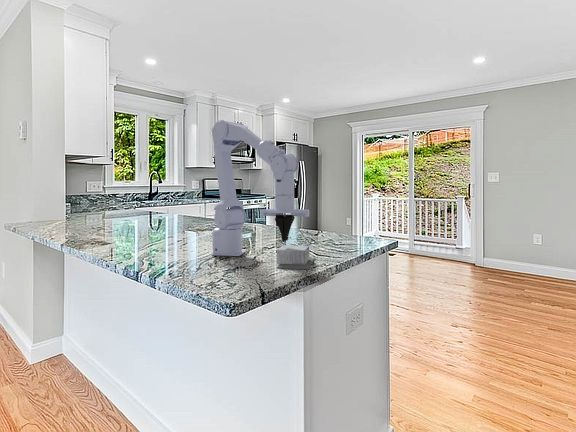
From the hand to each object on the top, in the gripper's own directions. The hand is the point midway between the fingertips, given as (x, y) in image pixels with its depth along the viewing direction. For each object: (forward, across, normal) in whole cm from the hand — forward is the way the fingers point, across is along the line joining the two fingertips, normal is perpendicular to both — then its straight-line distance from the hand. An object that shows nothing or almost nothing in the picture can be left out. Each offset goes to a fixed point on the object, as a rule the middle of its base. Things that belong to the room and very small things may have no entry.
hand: (285, 240), depth 110 cm
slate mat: (+7, +4, 0) cm, 8 cm away
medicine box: (+4, -2, 0) cm, 5 cm away
